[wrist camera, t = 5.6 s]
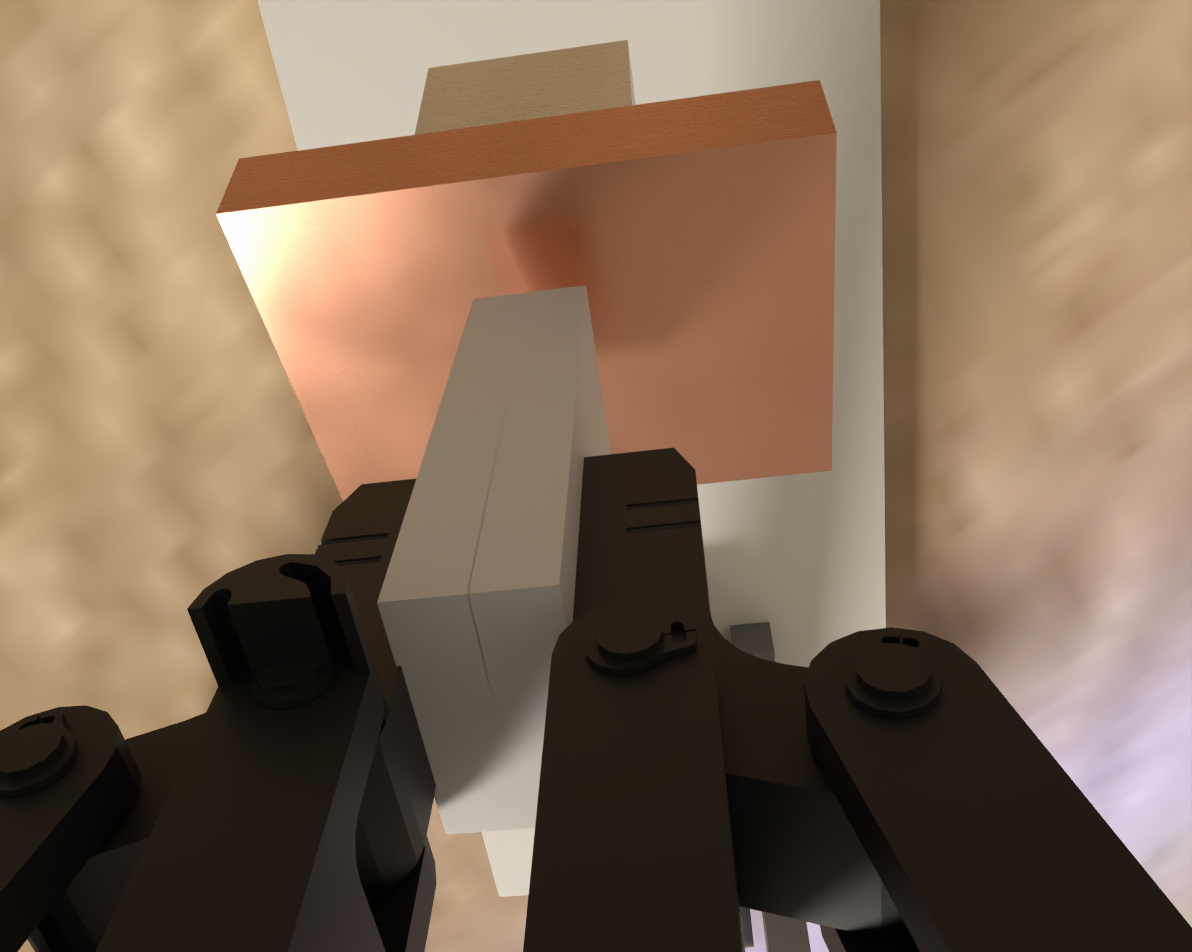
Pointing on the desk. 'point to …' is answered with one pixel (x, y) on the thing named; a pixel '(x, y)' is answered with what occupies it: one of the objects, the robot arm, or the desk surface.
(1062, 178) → the desk surface
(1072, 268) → the desk surface
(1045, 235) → the desk surface
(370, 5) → the base
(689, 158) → the lever
